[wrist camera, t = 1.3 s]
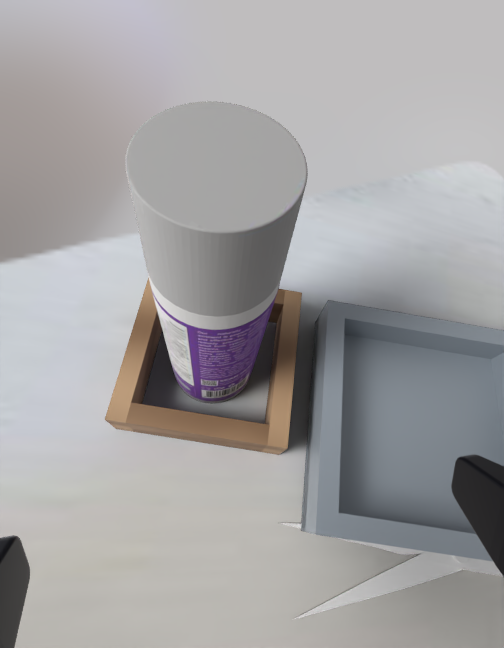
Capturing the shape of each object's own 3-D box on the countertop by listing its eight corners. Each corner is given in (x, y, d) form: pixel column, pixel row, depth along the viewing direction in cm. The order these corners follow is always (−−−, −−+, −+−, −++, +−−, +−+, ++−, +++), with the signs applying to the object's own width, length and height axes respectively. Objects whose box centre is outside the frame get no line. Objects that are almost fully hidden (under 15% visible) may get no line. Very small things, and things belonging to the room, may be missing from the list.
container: (260, 341, 24) (327, 125, 10) (239, 413, 22) (290, 261, 8) (188, 320, 24) (161, 79, 10) (161, 390, 22) (83, 202, 8)
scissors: (694, 651, 19) (298, 719, 16) (676, 645, 19) (294, 710, 17) (593, 430, 23) (271, 455, 20) (582, 433, 24) (269, 456, 21)
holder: (279, 454, 21) (287, 448, 19) (116, 428, 21) (104, 419, 18) (293, 311, 25) (301, 292, 23) (157, 288, 24) (152, 266, 22)
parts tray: (526, 564, 20) (576, 574, 17) (300, 530, 19) (315, 534, 17) (493, 352, 25) (527, 334, 22) (315, 322, 25) (328, 300, 22)
